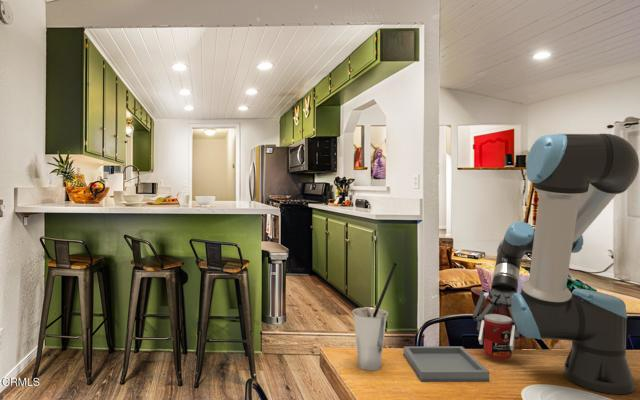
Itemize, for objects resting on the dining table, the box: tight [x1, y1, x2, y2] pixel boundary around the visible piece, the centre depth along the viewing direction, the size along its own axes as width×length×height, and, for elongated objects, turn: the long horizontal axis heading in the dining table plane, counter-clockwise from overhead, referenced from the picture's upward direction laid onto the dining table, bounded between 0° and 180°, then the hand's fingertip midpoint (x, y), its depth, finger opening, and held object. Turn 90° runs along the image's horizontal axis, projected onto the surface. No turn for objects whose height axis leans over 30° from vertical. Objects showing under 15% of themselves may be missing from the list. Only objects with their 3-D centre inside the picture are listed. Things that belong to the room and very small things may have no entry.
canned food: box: [483, 313, 513, 360], centre depth 119 cm, size 8×8×11 cm
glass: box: [351, 262, 398, 372], centre depth 112 cm, size 11×11×30 cm
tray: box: [403, 345, 490, 383], centre depth 113 cm, size 18×18×2 cm
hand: (495, 344), depth 116 cm, fingers closed on canned food, 8 cm apart
